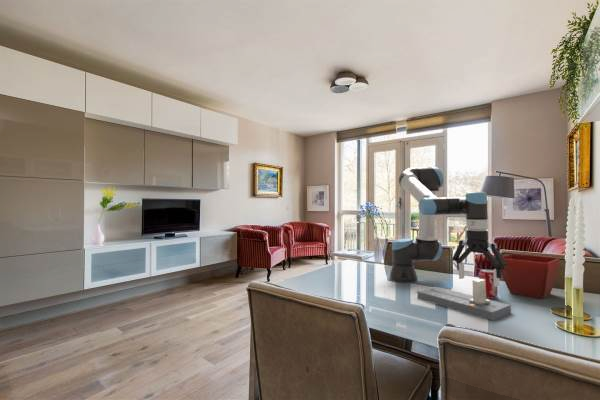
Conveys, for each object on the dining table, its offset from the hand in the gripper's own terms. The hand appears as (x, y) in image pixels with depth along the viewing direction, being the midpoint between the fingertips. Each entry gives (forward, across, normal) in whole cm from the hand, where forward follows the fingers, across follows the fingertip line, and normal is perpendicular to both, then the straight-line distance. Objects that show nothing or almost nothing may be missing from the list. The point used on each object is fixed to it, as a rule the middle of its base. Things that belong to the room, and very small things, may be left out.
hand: (478, 282), depth 117 cm
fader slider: (+8, 0, 0) cm, 8 cm away
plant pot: (+12, +2, +42) cm, 43 cm away
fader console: (+11, -8, 0) cm, 14 cm away
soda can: (+12, -6, +21) cm, 25 cm away
